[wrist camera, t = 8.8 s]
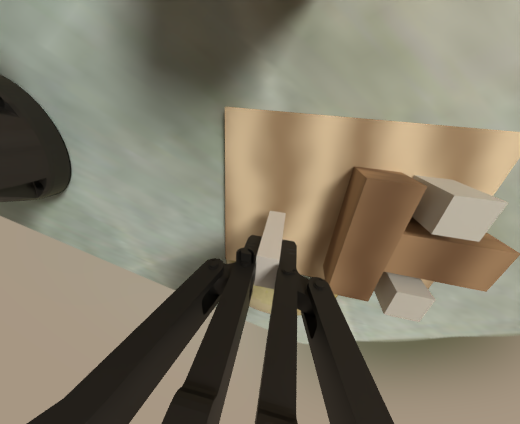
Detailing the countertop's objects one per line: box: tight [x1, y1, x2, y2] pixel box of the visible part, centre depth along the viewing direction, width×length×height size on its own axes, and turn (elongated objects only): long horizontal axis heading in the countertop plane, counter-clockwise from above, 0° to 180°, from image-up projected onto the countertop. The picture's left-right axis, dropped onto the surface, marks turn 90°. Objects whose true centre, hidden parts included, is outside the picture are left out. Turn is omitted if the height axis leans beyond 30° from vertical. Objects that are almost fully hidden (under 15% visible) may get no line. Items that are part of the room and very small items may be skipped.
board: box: [225, 107, 520, 289], centre depth 20 cm, size 24×18×1 cm
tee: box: [323, 166, 520, 301], centre depth 17 cm, size 12×12×4 cm
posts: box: [374, 175, 508, 322], centre depth 17 cm, size 3×12×5 cm, turn 176°
